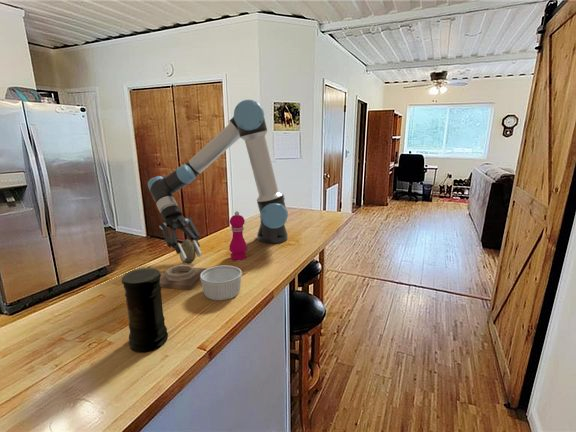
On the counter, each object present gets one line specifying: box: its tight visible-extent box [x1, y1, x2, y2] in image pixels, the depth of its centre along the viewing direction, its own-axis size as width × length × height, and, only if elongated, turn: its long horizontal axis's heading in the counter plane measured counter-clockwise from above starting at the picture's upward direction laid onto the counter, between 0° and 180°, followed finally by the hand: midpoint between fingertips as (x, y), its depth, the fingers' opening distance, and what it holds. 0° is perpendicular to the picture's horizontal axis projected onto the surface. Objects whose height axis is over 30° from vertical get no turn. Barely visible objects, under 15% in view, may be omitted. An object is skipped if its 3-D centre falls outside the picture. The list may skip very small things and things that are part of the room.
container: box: [121, 267, 169, 353], centre depth 76 cm, size 9×9×18 cm
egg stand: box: [160, 264, 207, 291], centre depth 112 cm, size 14×14×4 cm
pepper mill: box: [229, 211, 248, 261], centre depth 130 cm, size 7×7×20 cm
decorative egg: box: [179, 238, 197, 265], centre depth 125 cm, size 6×6×10 cm
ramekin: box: [199, 265, 243, 301], centre depth 102 cm, size 13×13×7 cm
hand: (192, 257), depth 123 cm, fingers closed on decorative egg, 6 cm apart
